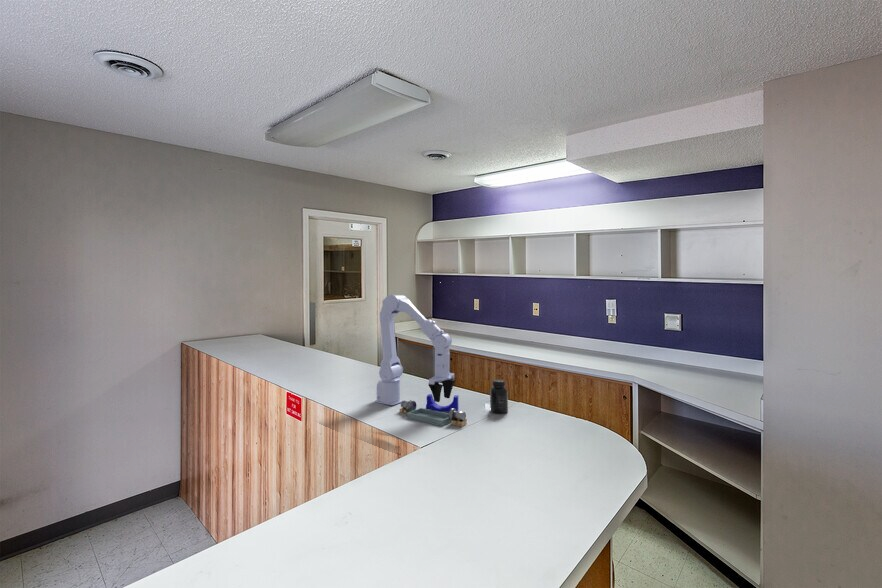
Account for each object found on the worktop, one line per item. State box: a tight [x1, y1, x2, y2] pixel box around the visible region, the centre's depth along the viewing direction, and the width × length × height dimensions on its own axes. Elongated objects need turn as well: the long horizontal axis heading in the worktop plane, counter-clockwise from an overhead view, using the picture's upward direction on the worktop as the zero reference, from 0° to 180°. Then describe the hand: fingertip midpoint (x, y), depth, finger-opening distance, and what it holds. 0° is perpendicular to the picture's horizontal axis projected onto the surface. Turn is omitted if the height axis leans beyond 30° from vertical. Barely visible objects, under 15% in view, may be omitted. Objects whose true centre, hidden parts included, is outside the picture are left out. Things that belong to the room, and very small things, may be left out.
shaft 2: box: [448, 408, 468, 428], centre depth 145 cm, size 5×4×5 cm
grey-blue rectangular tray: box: [406, 407, 452, 427], centre depth 151 cm, size 16×8×2 cm, turn 55°
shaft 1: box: [399, 399, 417, 416], centre depth 158 cm, size 5×4×5 cm
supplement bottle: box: [489, 379, 509, 415], centre depth 160 cm, size 7×7×12 cm
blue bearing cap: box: [425, 393, 459, 413], centre depth 160 cm, size 12×4×6 cm, turn 80°
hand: (442, 399), depth 160 cm, fingers closed on blue bearing cap, 6 cm apart
